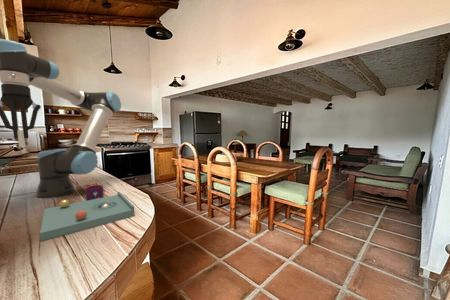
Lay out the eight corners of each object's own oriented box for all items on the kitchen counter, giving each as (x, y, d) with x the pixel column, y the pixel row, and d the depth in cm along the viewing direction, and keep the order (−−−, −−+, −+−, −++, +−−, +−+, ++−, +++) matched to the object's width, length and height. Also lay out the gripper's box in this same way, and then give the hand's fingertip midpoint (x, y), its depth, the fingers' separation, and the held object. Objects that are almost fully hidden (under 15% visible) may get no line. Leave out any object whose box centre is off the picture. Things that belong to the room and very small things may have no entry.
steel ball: (106, 201, 79) (111, 206, 80) (98, 206, 77) (103, 212, 78) (107, 203, 76) (112, 209, 78) (99, 209, 75) (104, 214, 76)
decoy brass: (59, 207, 76) (58, 199, 76) (70, 205, 78) (69, 197, 78) (59, 209, 73) (58, 201, 73) (70, 207, 76) (69, 199, 75)
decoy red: (75, 219, 65) (74, 210, 65) (86, 216, 67) (86, 207, 67) (75, 222, 63) (74, 213, 63) (87, 219, 65) (87, 210, 65)
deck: (45, 215, 75) (44, 205, 74) (119, 199, 92) (119, 191, 91) (40, 241, 57) (39, 229, 56) (134, 215, 73) (134, 206, 73)
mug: (86, 205, 85) (85, 190, 84) (86, 198, 93) (84, 185, 92) (104, 201, 89) (103, 187, 88) (102, 196, 97) (101, 182, 96)
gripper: (-14, 80, 66) (-6, 148, 68) (38, 85, 74) (44, 146, 76) (-9, 84, 71) (-1, 147, 74) (40, 89, 80) (45, 145, 82)
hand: (22, 147), depth 75 cm, fingers closed
